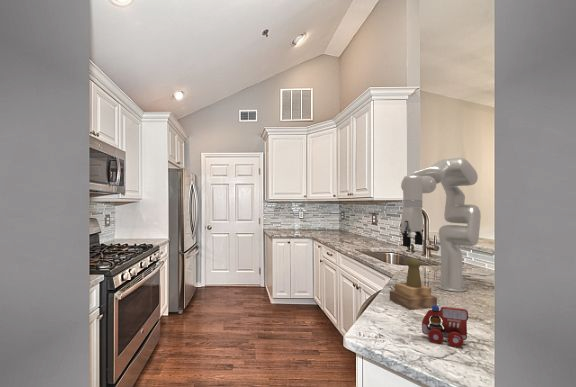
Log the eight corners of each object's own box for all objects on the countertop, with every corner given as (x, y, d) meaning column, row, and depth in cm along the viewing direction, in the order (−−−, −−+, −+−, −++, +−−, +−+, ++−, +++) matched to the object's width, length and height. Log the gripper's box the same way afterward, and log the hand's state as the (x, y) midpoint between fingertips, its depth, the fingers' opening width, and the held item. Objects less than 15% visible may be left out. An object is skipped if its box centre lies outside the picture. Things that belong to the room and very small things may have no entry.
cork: (420, 284, 131) (420, 258, 131) (422, 288, 125) (422, 260, 125) (405, 283, 133) (405, 257, 133) (406, 286, 127) (406, 259, 127)
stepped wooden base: (414, 298, 137) (414, 281, 137) (436, 307, 124) (436, 288, 125) (389, 300, 133) (389, 282, 133) (409, 310, 121) (409, 290, 121)
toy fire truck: (422, 332, 99) (422, 299, 99) (467, 341, 93) (467, 306, 94) (421, 341, 93) (421, 305, 93) (469, 350, 87) (469, 312, 87)
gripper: (414, 204, 139) (414, 243, 138) (393, 204, 128) (393, 246, 127) (431, 205, 133) (431, 245, 133) (410, 204, 122) (410, 248, 122)
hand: (412, 245), depth 130 cm, fingers open, 9 cm apart
